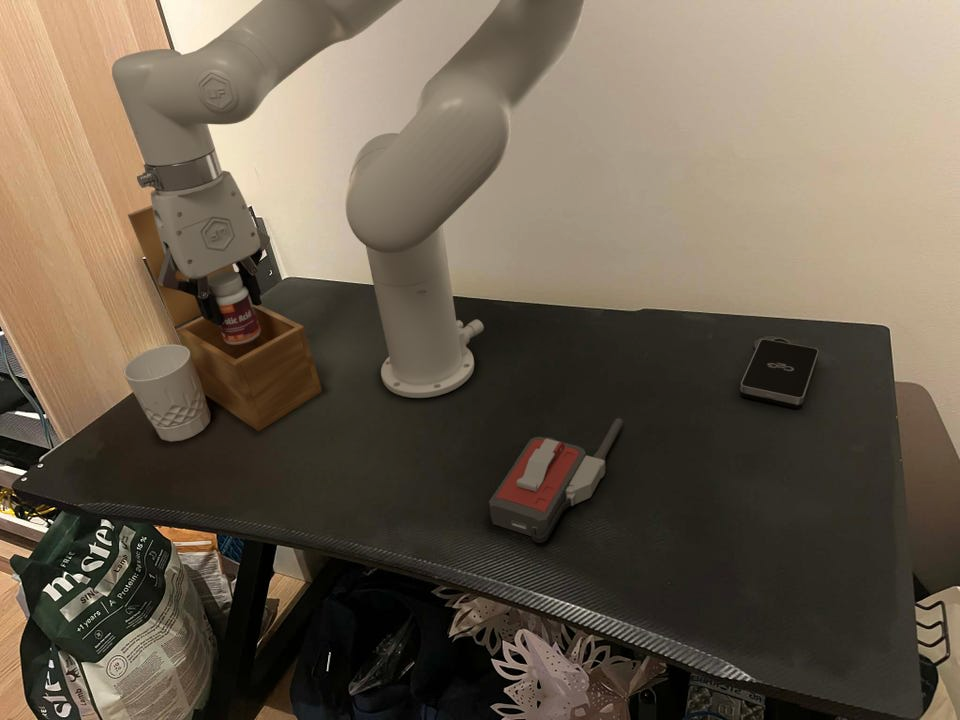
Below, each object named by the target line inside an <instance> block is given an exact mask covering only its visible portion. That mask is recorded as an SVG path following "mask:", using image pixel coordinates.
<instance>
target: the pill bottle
mask: <svg viewBox="0 0 960 720" xmlns="http://www.w3.org/2000/svg"><path fill="white" fill-rule="evenodd" d="M238 272H239V271H236V270H235V271H225V272H220V273H217V274H215V275H213V276H211V277H210V278H209V279H208V289H209V292H210V293H211V295H213V296H214V297H215V299H216V302H217V304H218V307H219V310H220V313H221V315H222V318H223V321H224V322H223V324H221V325H219V328H220V330H221V333H222V336H223V339H224V341H225V342H226V343H227V344H230V345H241V344H245V343H248V342H251V341H253V340H254V339H256V338H257V337H258V336H259V334H260V332H261V329H260V325H259V322H258V319H257V316H256V313H255V310H254V307H253V304H252V301H251V298H250V295H249V291H248V289H247V288H246V287H245V286H243V283H242V280H241V277H240V274H239V273H238Z"/></svg>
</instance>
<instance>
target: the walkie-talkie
mask: <svg viewBox="0 0 960 720" xmlns="http://www.w3.org/2000/svg"><path fill="white" fill-rule="evenodd" d="M623 425H624V420H623V419H622V418H615V419H614V420H613V422H612V424H611V426H610V428H609V430H608V431H607V433H606V434H605V437H604V439H603V441H602V442H601V444H600V446H599V447H598V449H597V451H596V452H595V453H594V454H593V456H590V455H587V454H586V453H587V452H586V451H585V449H584V448H582V447H581V446H579V445H575V444H571V443H567V442H563V441H559V440H556V439H555V438H553V437H551V436H550V437H543V436H535V437H532V438H530V439H529V440H528V442H527V444H526V445H525V446H524V448H523V449H522V451H521V453H520V454H519V456H518V457H517V458H516V460H515V461H514V463H513V465H512V466H511V468H510V469H509V471H508V472H507V473H506V476H504V479H502V482H501V483H499V486H497V489H496V490H495V491H494V493H493V494H492V496H491V497H490V499H489V500H488V507H489V515H490V519H491V522H492V525H495V526H498V527H501V528H504V529H507V530H511V531H513V532H516V533H520V534H521V535H522V534H523V535H526V536H529V537H531V539H532V541H533V542H535V543H537V544H541V543H545V542H546V540H548V539H549V537H550V535H551V533H552V531H553V530H554V529H555V526H556V525H557V523H558V521H559V519H560V518H561V516H562V514H563V513H564V511H565V510H566V509H568V508H569V507H574V505H577V504H579V503H581V502H583V501H586V500H588V499H590V498H591V497H592V496H593V494H594V493H595V490H596V488H597V486H598V484H599V482H600V481H601V479H602V478H604V476H605V475H606V457H607V455H608V453H609V451H610V450H611V448H612V445H613V444H614V442H615V440H616V438H617V436H618V434H619V433H620V430H621V428H622V427H623Z"/></svg>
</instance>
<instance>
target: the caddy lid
mask: <svg viewBox="0 0 960 720" xmlns="http://www.w3.org/2000/svg"><path fill="white" fill-rule="evenodd" d="M127 216H128V219H129V221H130V224H131V226H132V230H133V232H134V234H135V236H136V238H137V241H138V244H139V246H140V249H141V251H142V253H143V256H144V258H145V261H146V263H147V266H148V268H149V270H150V273H151V275H152V277H153V280H154V283H155V285H156V288H157V291H158V292H159V295H160V297H161V300H162V302H163V304H164V308H165V310H166V312H167V315H168V317H169V319H170V322H171V324H172V326H173V327H178V326H180V325H184V323H185V324H186V322H188V321H189V322H190V321H192V320H193V319H196V317H197V318H198V317H199V316H202V314H201V312H200V309H199V306H198V304H197V301H196V298H195V296H193V295H191V294H188V293H185V292H183V291H179V290H174V289H169V288H165V287H163V286H161V285H159V284H158V278H159V274H160V271H161V268H162V264H163V261H164V258H165V253H164V250H163V247H162V244H161V241H160V238H159V234H158V231H157V227H156V223H155V218H154V214H153V208H152V204H151V205H149V206H146V207H144V208H141V209H138V210H136V211H134V212H131V213H128V214H127ZM225 271H235V272H236V270H235V267H234V264H232V265H230V266H228V267H226V268H223V269H221V270H219V271H217V272H215V273H212V274H210V275H208V276H207V279H209V278H210V277H211V276H213V275H215V274H217V273H220V272H225ZM175 277H176V278H177V279H182V280H185V281H187V277H186V276H184V275H183V274H182V273H181V271H176V275H175ZM208 291H209V289H208ZM209 293H210V292H209ZM210 294H211V293H210Z"/></svg>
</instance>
